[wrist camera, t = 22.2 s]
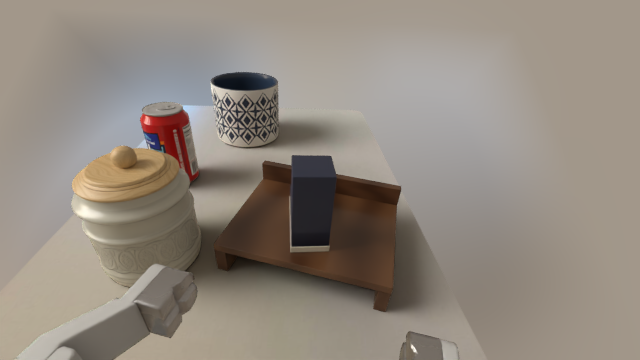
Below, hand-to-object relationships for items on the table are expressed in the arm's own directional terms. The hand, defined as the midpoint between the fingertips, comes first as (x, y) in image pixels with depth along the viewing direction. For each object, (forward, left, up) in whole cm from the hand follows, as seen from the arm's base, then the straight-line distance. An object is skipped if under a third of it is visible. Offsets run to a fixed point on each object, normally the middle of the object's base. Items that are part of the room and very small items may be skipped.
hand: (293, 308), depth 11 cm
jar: (+27, -18, -25) cm, 41 cm away
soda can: (+36, -36, -25) cm, 57 cm away
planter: (+32, -60, -25) cm, 73 cm away
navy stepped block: (+6, -26, -20) cm, 33 cm away
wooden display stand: (+5, -27, -25) cm, 37 cm away
